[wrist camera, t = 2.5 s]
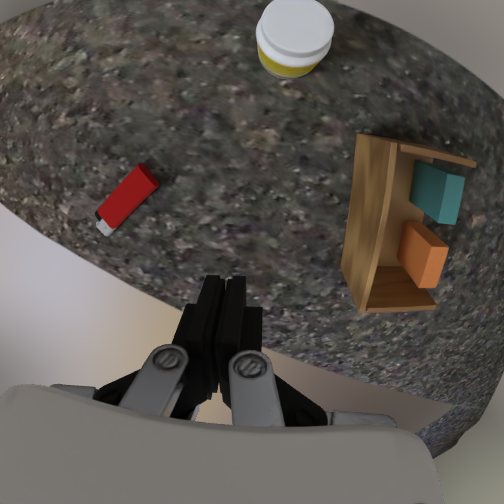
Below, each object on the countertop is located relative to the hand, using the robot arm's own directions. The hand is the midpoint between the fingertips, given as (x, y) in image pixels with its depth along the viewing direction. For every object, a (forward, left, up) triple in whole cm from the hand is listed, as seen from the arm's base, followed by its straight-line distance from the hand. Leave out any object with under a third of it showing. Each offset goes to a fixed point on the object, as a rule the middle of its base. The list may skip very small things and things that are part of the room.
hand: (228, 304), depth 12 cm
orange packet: (+3, +16, -14) cm, 21 cm away
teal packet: (-3, +16, -14) cm, 21 cm away
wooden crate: (0, +13, -14) cm, 19 cm away
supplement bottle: (-13, +3, -14) cm, 20 cm away
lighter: (0, -12, -14) cm, 19 cm away
